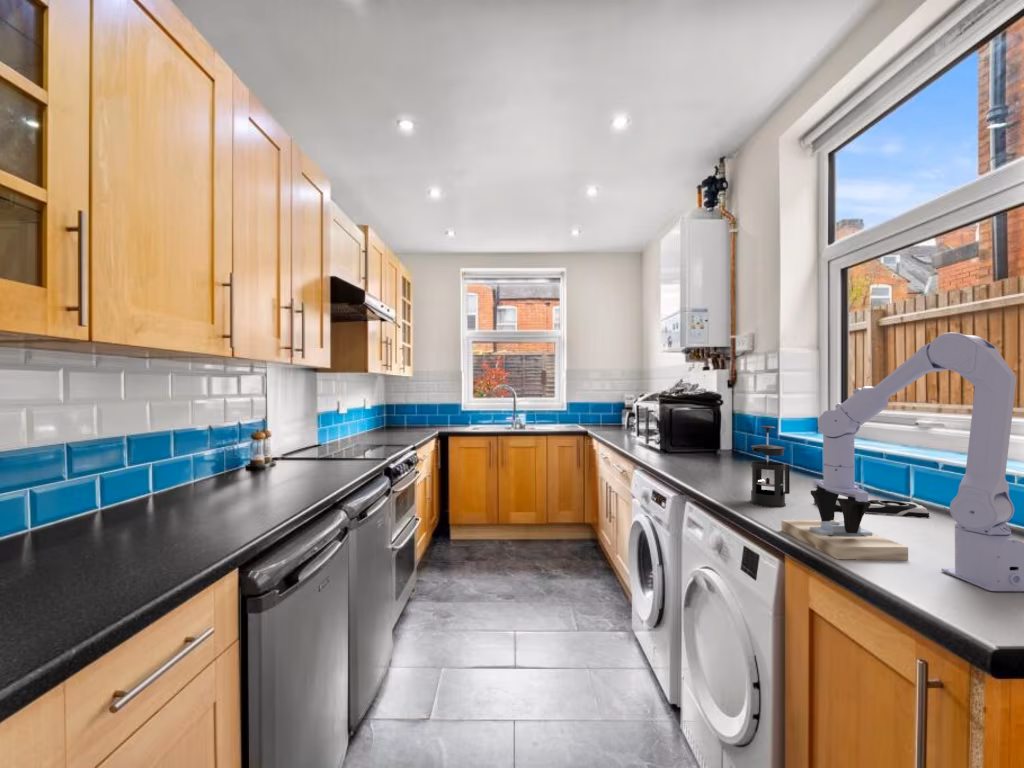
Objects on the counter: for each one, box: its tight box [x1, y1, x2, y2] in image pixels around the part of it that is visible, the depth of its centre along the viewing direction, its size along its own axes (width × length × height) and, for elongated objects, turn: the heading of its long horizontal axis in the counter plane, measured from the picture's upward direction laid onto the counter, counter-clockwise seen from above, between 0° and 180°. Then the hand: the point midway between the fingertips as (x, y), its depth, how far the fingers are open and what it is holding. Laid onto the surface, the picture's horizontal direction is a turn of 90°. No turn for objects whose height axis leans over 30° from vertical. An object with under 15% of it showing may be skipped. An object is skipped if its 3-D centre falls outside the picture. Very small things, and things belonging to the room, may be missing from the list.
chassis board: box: [781, 519, 909, 561], centre depth 106 cm, size 20×14×2 cm
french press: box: [749, 425, 791, 508], centre depth 144 cm, size 12×9×23 cm
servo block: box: [810, 519, 873, 537], centre depth 106 cm, size 4×11×5 cm, turn 91°
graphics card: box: [813, 496, 930, 518], centre depth 136 cm, size 10×3×25 cm
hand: (839, 527), depth 106 cm, fingers open, 7 cm apart
